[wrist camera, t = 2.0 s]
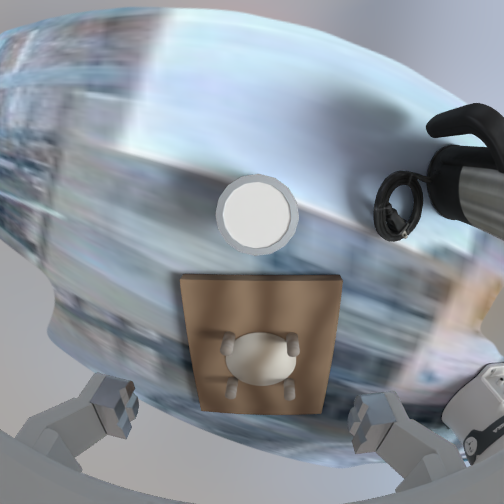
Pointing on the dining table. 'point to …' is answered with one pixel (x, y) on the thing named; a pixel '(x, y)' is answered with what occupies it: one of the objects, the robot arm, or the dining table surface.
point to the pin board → (261, 340)
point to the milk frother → (454, 176)
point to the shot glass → (257, 214)
